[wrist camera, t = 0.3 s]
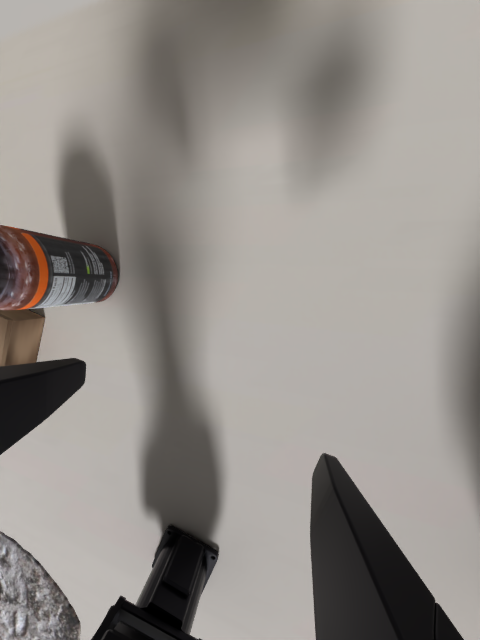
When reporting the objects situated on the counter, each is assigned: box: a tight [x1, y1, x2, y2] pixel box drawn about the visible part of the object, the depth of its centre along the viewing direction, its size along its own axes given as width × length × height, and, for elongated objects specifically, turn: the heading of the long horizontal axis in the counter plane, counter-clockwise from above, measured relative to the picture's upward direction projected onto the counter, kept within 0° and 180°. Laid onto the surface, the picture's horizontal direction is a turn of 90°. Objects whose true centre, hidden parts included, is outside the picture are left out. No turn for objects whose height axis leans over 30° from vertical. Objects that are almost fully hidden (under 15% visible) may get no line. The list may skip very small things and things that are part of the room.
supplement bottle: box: [0, 225, 118, 310], centre depth 19 cm, size 6×6×11 cm
